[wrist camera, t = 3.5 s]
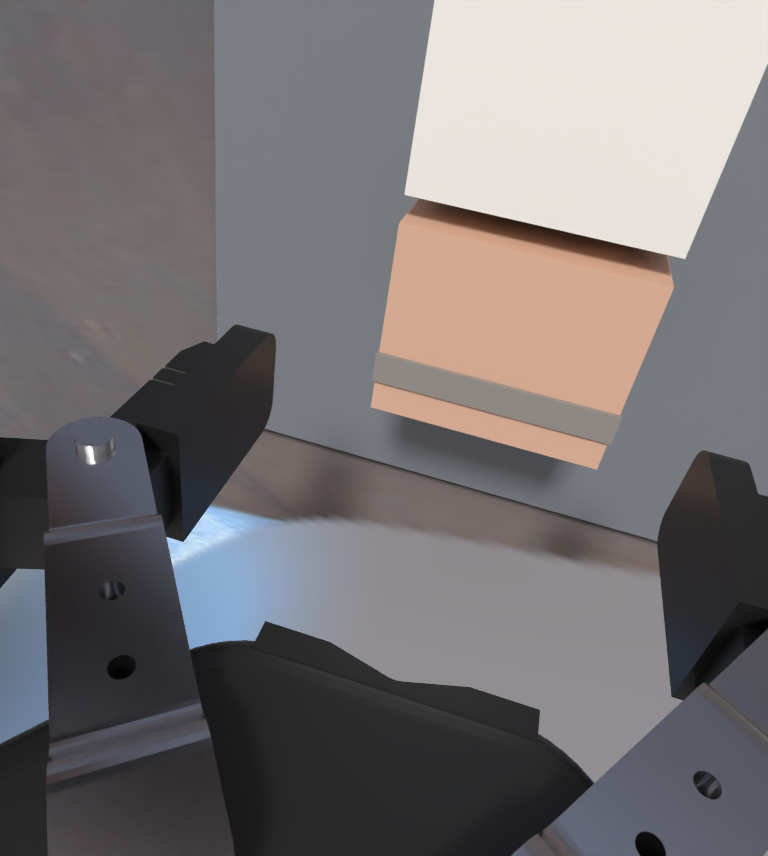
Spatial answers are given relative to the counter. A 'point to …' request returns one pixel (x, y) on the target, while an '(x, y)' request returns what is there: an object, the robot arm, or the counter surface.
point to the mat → (374, 252)
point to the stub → (516, 330)
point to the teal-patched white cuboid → (586, 111)
